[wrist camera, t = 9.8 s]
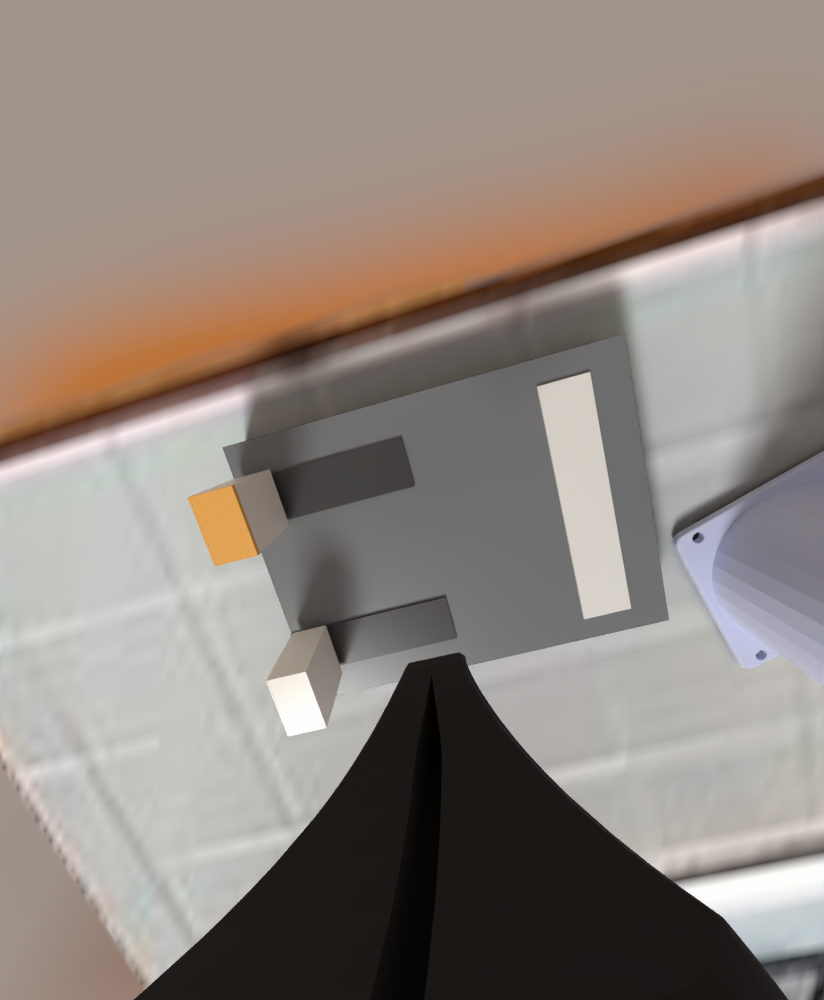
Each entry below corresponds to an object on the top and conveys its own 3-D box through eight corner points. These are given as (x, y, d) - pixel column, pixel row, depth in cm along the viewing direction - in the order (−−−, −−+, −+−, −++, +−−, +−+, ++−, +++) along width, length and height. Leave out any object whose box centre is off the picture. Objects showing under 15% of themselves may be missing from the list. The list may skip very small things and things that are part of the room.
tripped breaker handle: (269, 469, 17) (231, 485, 13) (289, 525, 17) (257, 555, 14) (234, 478, 17) (187, 497, 13) (254, 535, 17) (214, 566, 14)
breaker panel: (600, 341, 18) (626, 333, 15) (642, 596, 20) (670, 621, 18) (245, 442, 19) (221, 447, 17) (326, 670, 21) (315, 701, 19)
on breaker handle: (325, 625, 18) (305, 671, 15) (342, 673, 18) (326, 727, 15) (292, 633, 18) (265, 681, 15) (310, 680, 19) (287, 736, 15)
